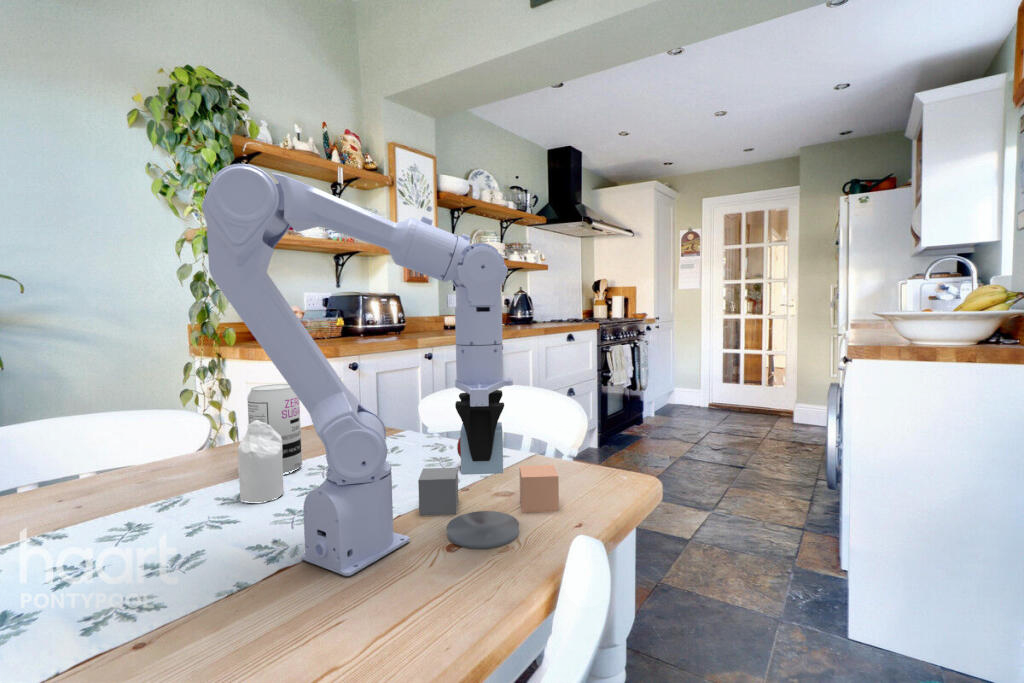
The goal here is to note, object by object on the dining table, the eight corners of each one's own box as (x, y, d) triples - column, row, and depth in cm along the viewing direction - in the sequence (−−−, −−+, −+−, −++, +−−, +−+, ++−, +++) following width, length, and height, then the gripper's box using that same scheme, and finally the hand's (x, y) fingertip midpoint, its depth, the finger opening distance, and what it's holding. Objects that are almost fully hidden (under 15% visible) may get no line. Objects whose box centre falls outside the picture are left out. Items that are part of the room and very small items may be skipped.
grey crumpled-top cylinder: (279, 413, 78) (282, 420, 73) (283, 488, 79) (285, 499, 74) (236, 418, 75) (235, 425, 70) (240, 495, 76) (239, 507, 71)
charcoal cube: (456, 514, 67) (455, 478, 67) (419, 516, 67) (418, 480, 67) (458, 501, 72) (457, 467, 72) (423, 502, 72) (423, 468, 72)
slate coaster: (493, 555, 56) (493, 548, 56) (431, 538, 60) (431, 531, 60) (532, 525, 63) (532, 519, 63) (474, 511, 68) (474, 506, 68)
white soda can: (255, 466, 90) (251, 385, 89) (304, 461, 93) (301, 382, 92) (246, 480, 83) (241, 391, 82) (299, 475, 85) (296, 388, 84)
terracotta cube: (558, 511, 68) (558, 476, 68) (522, 513, 68) (521, 477, 67) (553, 498, 73) (553, 464, 72) (520, 499, 73) (519, 465, 72)
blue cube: (503, 473, 59) (502, 432, 59) (461, 474, 59) (460, 433, 58) (502, 460, 64) (501, 422, 64) (463, 461, 64) (462, 423, 63)
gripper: (515, 347, 53) (517, 471, 54) (509, 340, 68) (510, 437, 69) (449, 349, 53) (452, 473, 54) (457, 341, 68) (460, 439, 68)
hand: (481, 453), depth 61 cm, fingers closed on blue cube, 5 cm apart
